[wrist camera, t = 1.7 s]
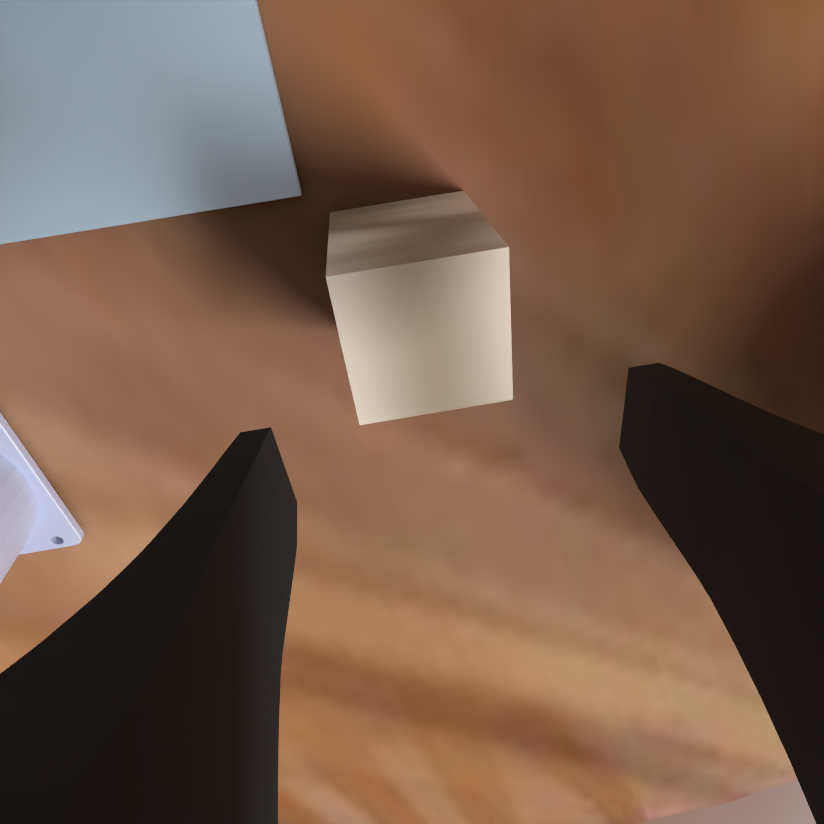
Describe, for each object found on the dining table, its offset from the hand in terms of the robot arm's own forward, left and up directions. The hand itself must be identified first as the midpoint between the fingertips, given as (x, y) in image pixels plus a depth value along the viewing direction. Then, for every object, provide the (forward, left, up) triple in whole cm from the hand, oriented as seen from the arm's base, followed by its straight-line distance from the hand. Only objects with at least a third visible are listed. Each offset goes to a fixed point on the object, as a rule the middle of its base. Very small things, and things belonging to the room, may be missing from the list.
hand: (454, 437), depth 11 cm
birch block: (0, 0, -10) cm, 10 cm away
